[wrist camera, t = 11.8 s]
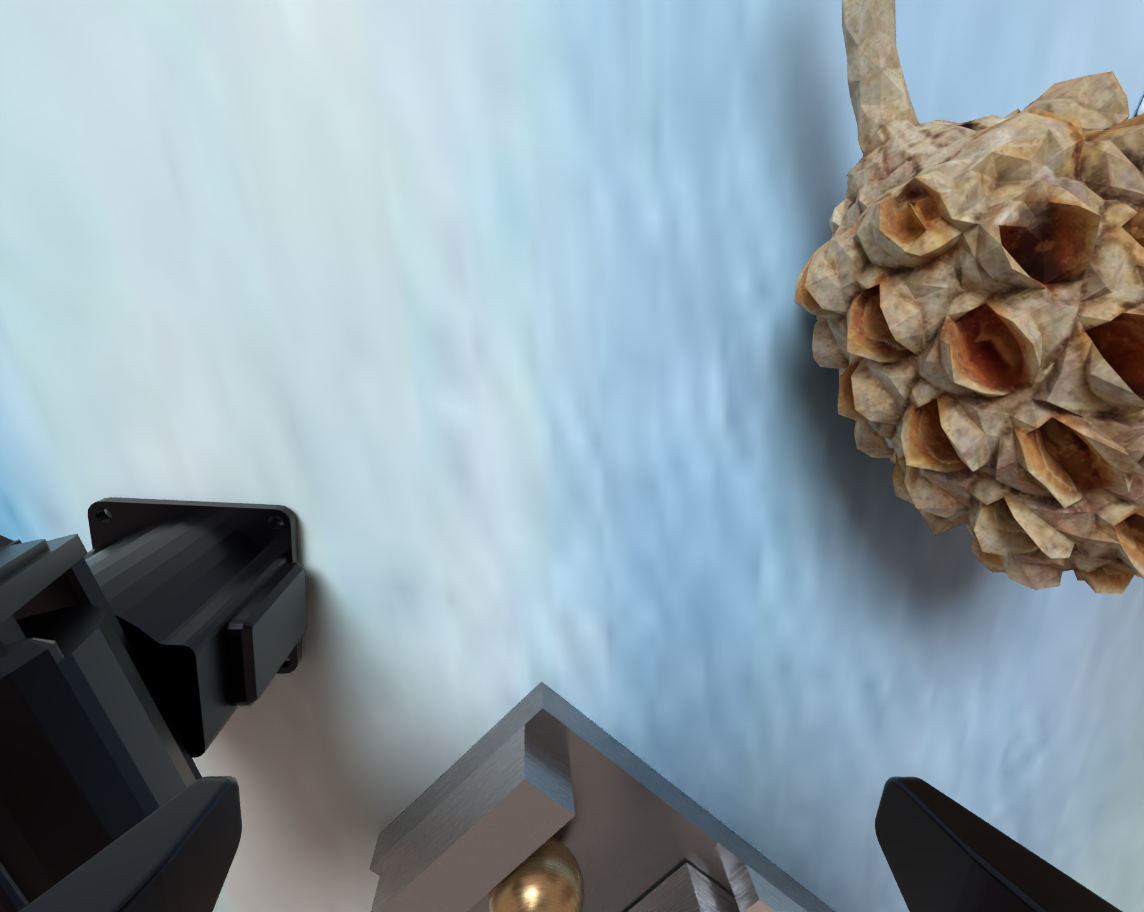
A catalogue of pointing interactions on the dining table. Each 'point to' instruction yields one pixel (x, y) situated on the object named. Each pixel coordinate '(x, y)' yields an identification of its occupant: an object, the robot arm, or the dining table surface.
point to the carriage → (687, 895)
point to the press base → (561, 829)
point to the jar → (1141, 108)
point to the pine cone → (994, 315)
